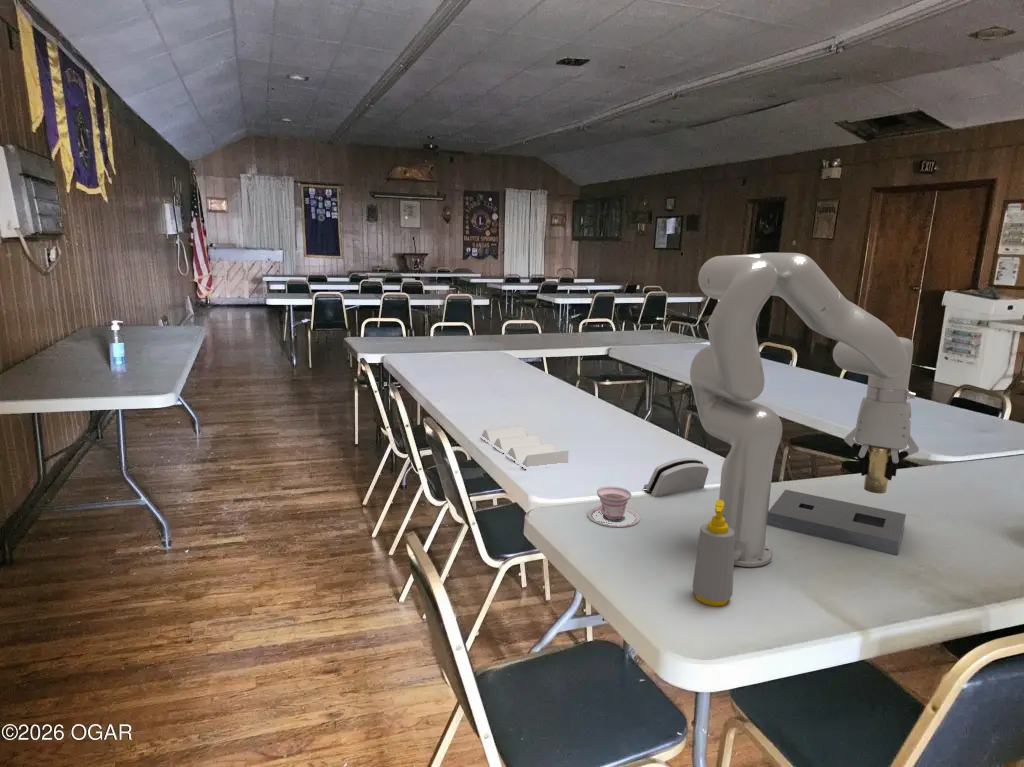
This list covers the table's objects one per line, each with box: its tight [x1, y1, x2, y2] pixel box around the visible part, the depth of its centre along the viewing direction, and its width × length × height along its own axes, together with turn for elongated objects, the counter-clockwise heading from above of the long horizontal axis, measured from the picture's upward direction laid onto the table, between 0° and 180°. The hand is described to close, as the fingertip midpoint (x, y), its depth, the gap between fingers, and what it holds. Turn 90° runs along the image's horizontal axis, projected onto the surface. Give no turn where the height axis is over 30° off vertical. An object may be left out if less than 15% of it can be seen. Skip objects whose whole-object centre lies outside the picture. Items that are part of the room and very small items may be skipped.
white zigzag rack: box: [481, 425, 569, 467], centre depth 201 cm, size 13×35×5 cm, turn 24°
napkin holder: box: [642, 457, 710, 498], centre depth 170 cm, size 17×5×10 cm, turn 117°
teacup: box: [587, 485, 641, 528], centre depth 152 cm, size 12×12×6 cm
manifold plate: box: [767, 489, 907, 556], centre depth 151 cm, size 18×26×3 cm
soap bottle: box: [691, 499, 735, 607], centre depth 116 cm, size 7×7×18 cm
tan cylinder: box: [863, 446, 892, 495], centre depth 145 cm, size 4×4×10 cm
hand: (876, 475), depth 145 cm, fingers closed on tan cylinder, 4 cm apart
